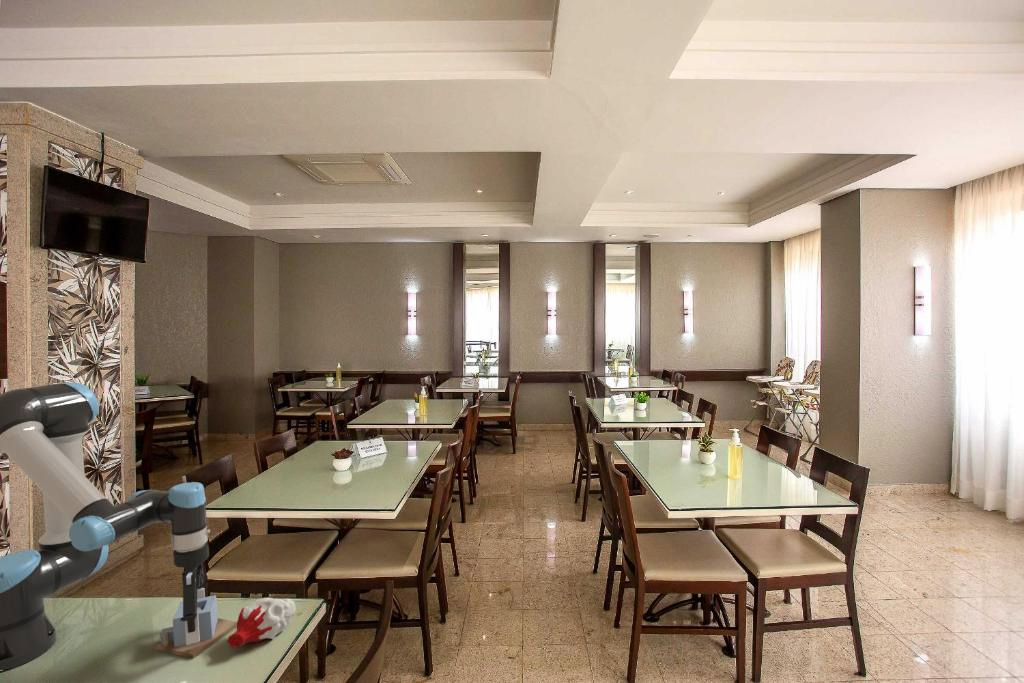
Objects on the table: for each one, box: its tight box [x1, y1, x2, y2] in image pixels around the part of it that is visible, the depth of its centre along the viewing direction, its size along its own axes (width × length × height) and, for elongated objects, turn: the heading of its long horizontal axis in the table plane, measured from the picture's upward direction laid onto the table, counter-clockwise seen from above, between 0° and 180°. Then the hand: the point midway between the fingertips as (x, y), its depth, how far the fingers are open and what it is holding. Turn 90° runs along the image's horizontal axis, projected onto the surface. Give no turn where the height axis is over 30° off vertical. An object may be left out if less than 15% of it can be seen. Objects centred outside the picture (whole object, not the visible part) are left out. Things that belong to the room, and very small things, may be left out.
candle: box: [226, 597, 297, 648], centre depth 127 cm, size 9×11×15 cm
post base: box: [152, 607, 237, 659], centre depth 128 cm, size 13×13×7 cm
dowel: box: [163, 632, 169, 647], centre depth 124 cm, size 1×1×3 cm
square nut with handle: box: [159, 594, 218, 647], centre depth 128 cm, size 12×8×7 cm
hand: (196, 627), depth 128 cm, fingers open, 13 cm apart
